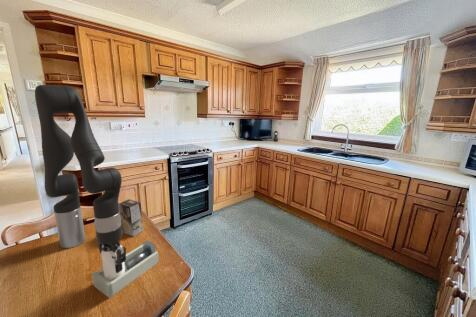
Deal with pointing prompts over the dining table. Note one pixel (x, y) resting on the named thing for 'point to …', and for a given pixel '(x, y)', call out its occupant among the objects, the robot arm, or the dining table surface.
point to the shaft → (141, 255)
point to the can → (110, 265)
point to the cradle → (125, 278)
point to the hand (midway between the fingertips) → (113, 267)
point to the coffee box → (131, 217)
